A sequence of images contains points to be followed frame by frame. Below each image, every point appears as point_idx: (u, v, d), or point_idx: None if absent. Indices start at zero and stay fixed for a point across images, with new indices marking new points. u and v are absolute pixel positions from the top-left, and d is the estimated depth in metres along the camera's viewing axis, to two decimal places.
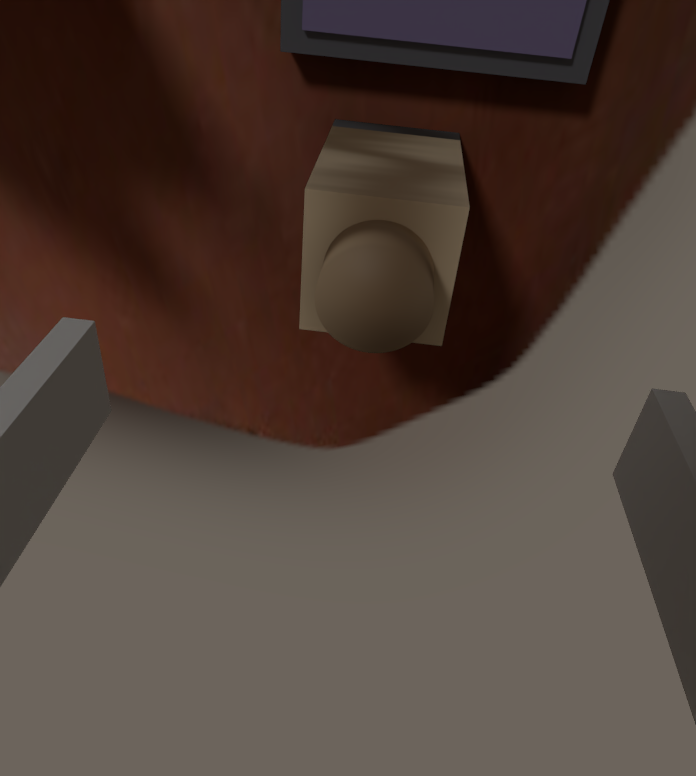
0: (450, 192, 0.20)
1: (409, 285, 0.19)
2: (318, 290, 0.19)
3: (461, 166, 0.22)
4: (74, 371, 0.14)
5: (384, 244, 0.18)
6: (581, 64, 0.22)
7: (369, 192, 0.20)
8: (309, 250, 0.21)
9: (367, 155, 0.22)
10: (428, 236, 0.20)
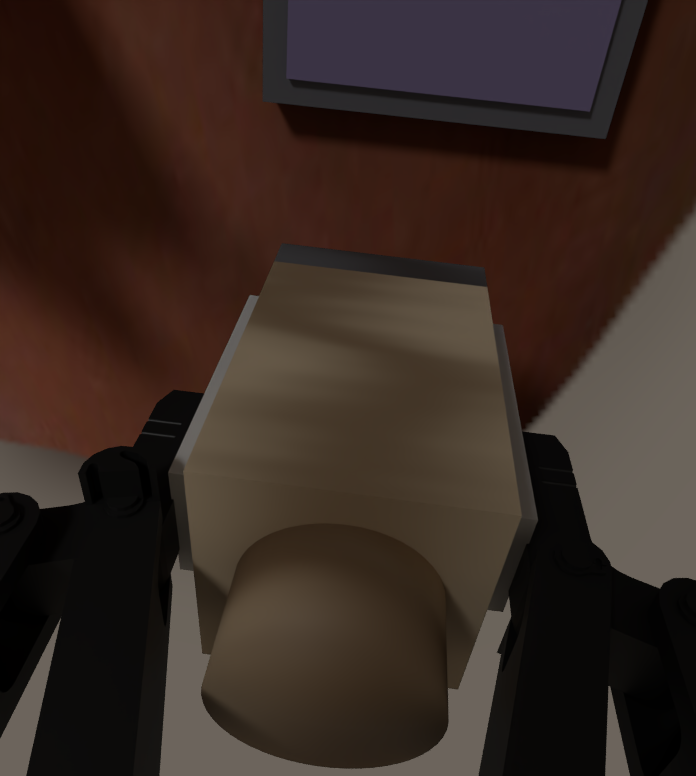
0: (479, 458, 0.10)
1: (395, 697, 0.09)
2: (207, 690, 0.09)
3: (494, 364, 0.12)
4: None
5: (341, 626, 0.08)
6: (601, 117, 0.20)
7: (316, 475, 0.10)
8: (205, 558, 0.11)
9: (324, 342, 0.12)
10: (434, 552, 0.10)
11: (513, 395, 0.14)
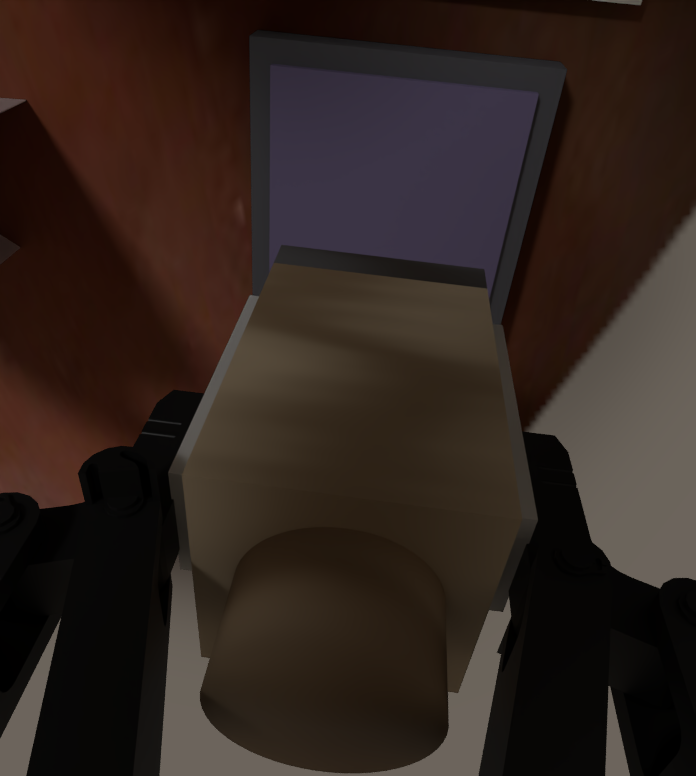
0: (479, 461, 0.10)
1: (395, 703, 0.09)
2: (206, 695, 0.09)
3: (495, 366, 0.12)
4: None
5: (340, 630, 0.08)
6: None
7: (315, 479, 0.10)
8: (204, 561, 0.11)
9: (323, 344, 0.12)
10: (434, 556, 0.10)
11: (513, 395, 0.14)
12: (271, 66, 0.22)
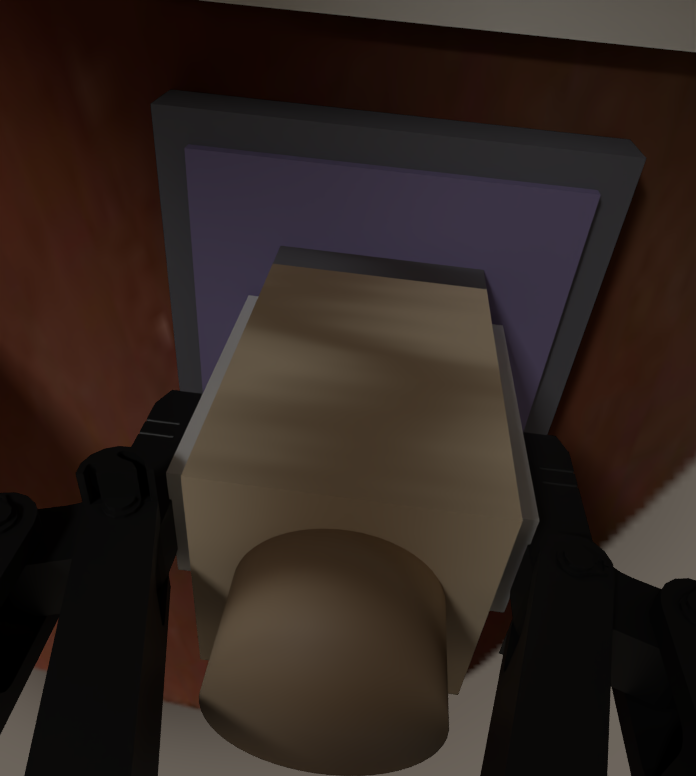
0: (479, 462, 0.10)
1: (396, 705, 0.09)
2: (205, 697, 0.09)
3: (495, 367, 0.12)
4: None
5: (340, 633, 0.08)
6: None
7: (315, 480, 0.10)
8: (203, 563, 0.11)
9: (323, 345, 0.12)
10: (434, 558, 0.10)
11: (514, 395, 0.14)
12: (186, 149, 0.14)
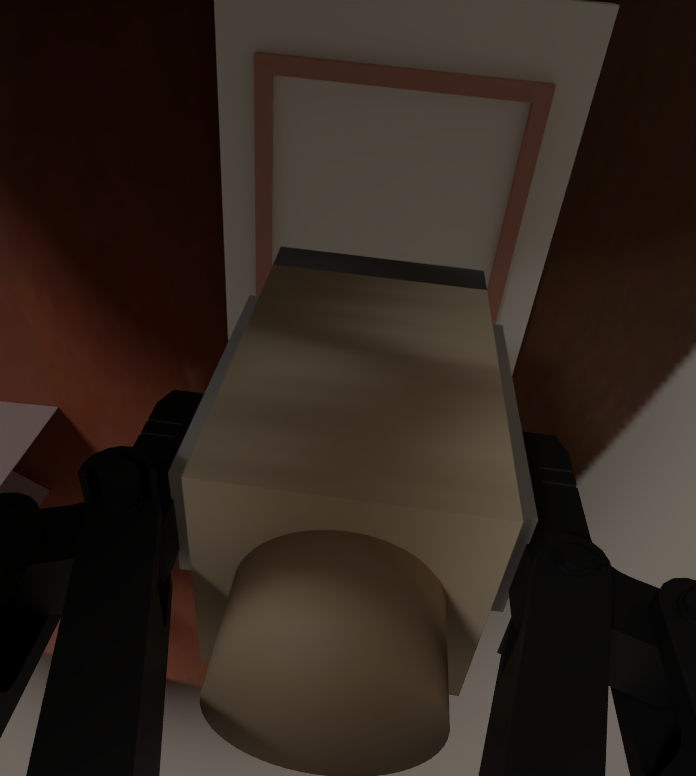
0: (479, 464, 0.10)
1: (397, 706, 0.09)
2: (206, 699, 0.09)
3: (495, 368, 0.12)
4: None
5: (341, 634, 0.08)
6: None
7: (316, 481, 0.10)
8: (204, 564, 0.11)
9: (323, 346, 0.12)
10: (435, 559, 0.10)
11: (513, 395, 0.14)
12: None
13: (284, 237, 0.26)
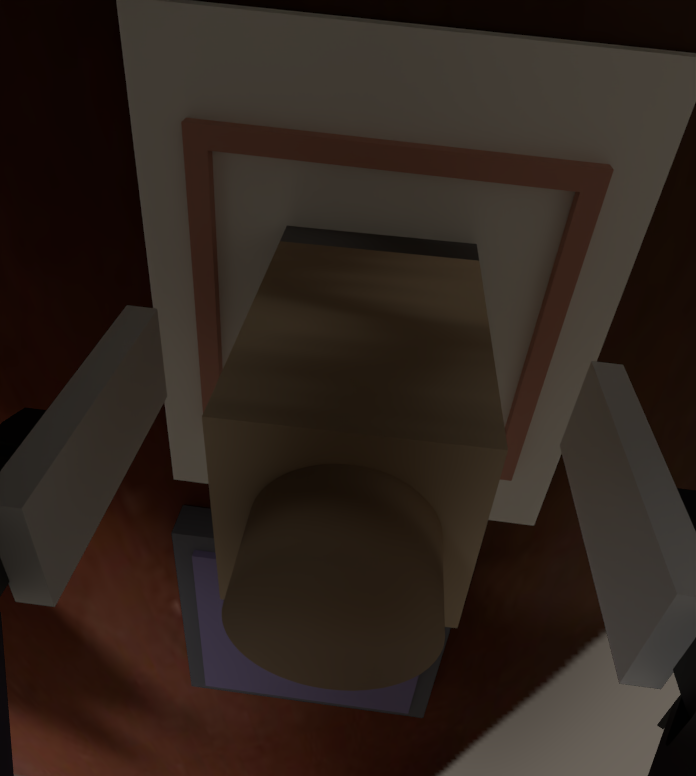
0: (469, 404, 0.11)
1: (396, 613, 0.10)
2: (227, 612, 0.10)
3: (485, 326, 0.13)
4: (140, 356, 0.15)
5: (346, 546, 0.09)
6: (418, 710, 0.30)
7: (322, 418, 0.11)
8: (222, 502, 0.12)
9: (327, 309, 0.13)
10: (430, 489, 0.11)
11: (657, 448, 0.13)
12: (192, 557, 0.24)
13: None
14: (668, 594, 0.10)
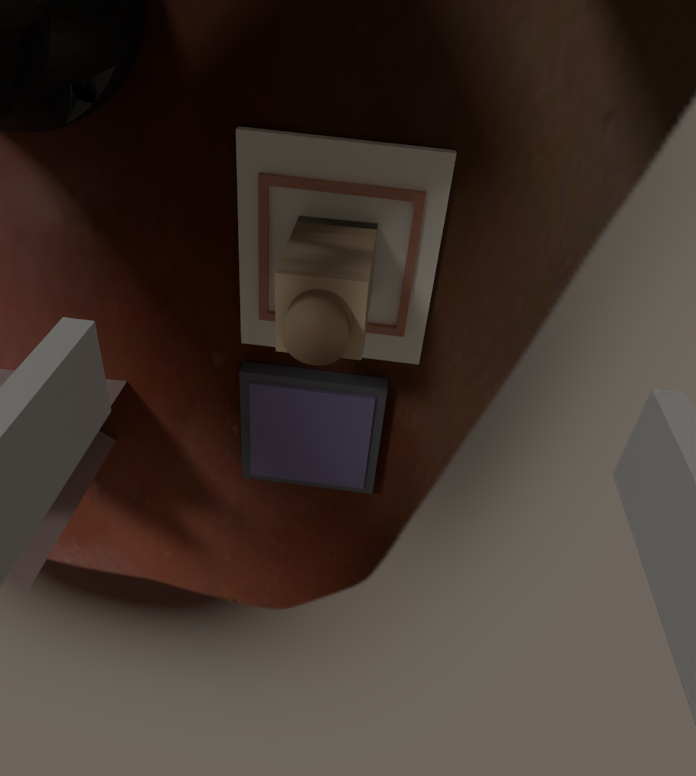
0: (359, 271, 0.35)
1: (333, 327, 0.33)
2: (283, 331, 0.34)
3: (372, 251, 0.37)
4: (74, 371, 0.14)
5: (318, 305, 0.33)
6: (369, 488, 0.53)
7: (312, 274, 0.34)
8: (279, 306, 0.35)
9: (314, 245, 0.37)
10: (346, 298, 0.34)
11: None
12: (249, 384, 0.47)
13: None
14: None
